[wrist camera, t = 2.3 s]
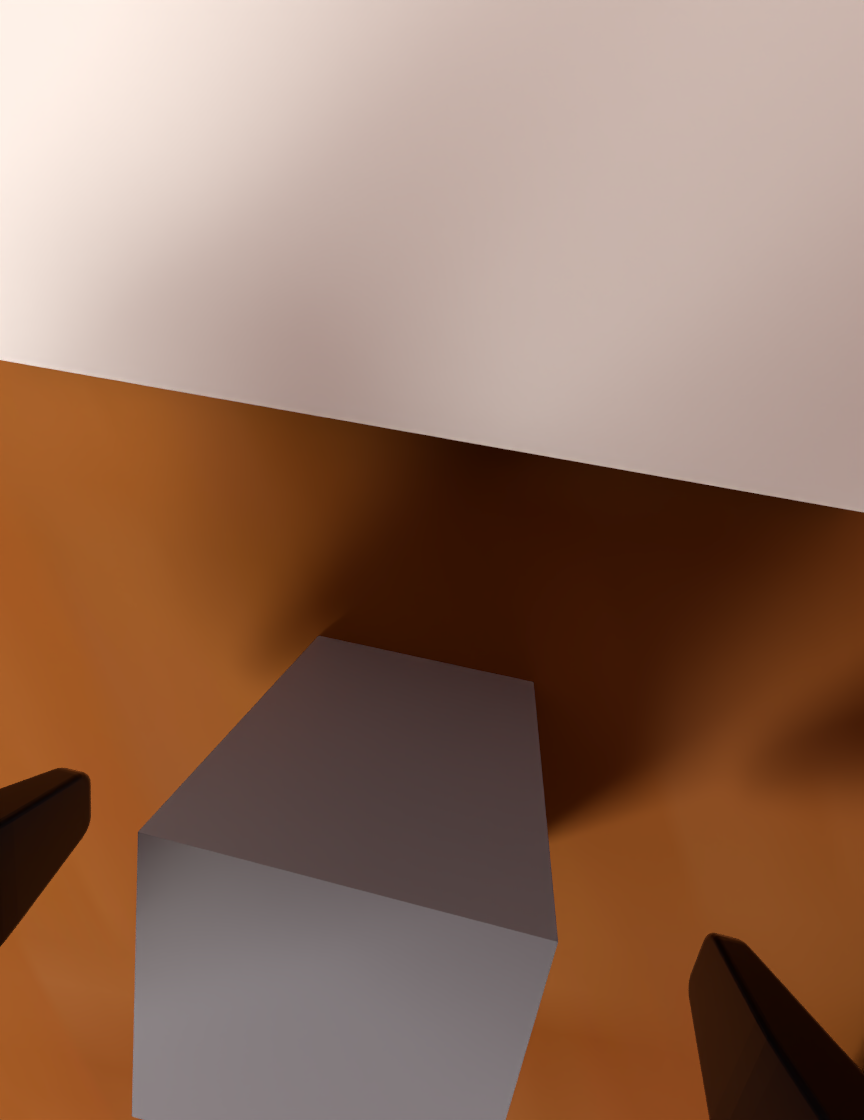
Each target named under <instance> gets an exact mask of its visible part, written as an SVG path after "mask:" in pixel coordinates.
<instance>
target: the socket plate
mask: <svg viewBox="0 0 864 1120" xmlns="http://www.w3.org/2000/svg"><path fill="white" fill-rule="evenodd" d="M0 360H4V361H9V362H15V363H21V364H26V365H32V366H38V367H43V368H49V369H55V370H60V371H66V372H72V373H77V374H83V375H89V376H94V377H100V378H106V379H111V380H117V381H123V382H128V383H134V384H140V385H145V386H151V387H157V388H162V389H168V390H174V391H179V392H185V393H191V394H196V395H202V396H208V397H213V398H219V399H225V400H230V401H236V402H241V403H247V404H253V405H258V406H264V407H270V408H275V409H281V410H287V411H292V412H298V413H304V414H309V415H315V416H321V417H326V418H332V419H338V420H343V421H349V422H355V423H360V424H366V425H372V426H377V427H383V428H389V429H394V430H400V431H406V432H411V433H417V434H423V435H428V436H434V437H440V438H445V439H451V440H457V441H462V442H468V443H473V444H479V445H485V446H490V447H496V448H502V449H507V450H513V451H519V452H524V453H530V454H536V455H541V456H547V457H553V458H558V459H564V460H570V461H575V462H581V463H587V464H592V465H598V466H604V467H609V468H615V469H621V470H626V471H632V472H638V473H643V474H649V475H655V476H660V477H666V478H672V479H677V480H683V481H689V482H694V483H700V484H705V485H711V486H717V487H722V488H728V489H734V490H739V491H745V492H751V493H756V494H762V495H768V496H773V497H779V498H785V499H790V500H796V501H802V502H807V503H813V504H819V505H824V506H830V507H836V508H841V509H847V510H853V511H858V512H864V0H0Z"/></svg>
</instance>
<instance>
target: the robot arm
mask: <svg viewBox="0 0 864 1120" xmlns="http://www.w3.org/2000/svg"><path fill="white" fill-rule="evenodd" d="M90 818H91V785H90V778H89V776H88V775H87V774H86V773H84V772H80V771H76V770H72V769H68V768H57V769H54V770H51V771H48V772H46V773H43V774H40V775H37V776H34V777H32V778H29V779H26V780H23V781H20V782H18V783H15V784H12V785H9V786H7V787H4V788H1V789H0V946H1V945H2V944H3V943H4V942H5V940H6V939H7V938H8V936H9V935H10V934H11V933H12V931H13V930H14V929H15V928H16V926H17V925H18V924H19V922H20V921H21V920H22V918H23V917H24V916H25V914H26V913H27V912H28V910H29V909H30V908H31V906H32V905H33V904H34V902H35V901H36V899H37V898H38V897H39V895H40V894H41V893H42V891H43V890H44V889H45V887H46V886H47V885H48V883H49V882H50V881H51V879H52V878H53V877H54V875H55V874H56V873H57V871H58V870H59V869H60V867H61V866H62V864H63V863H64V862H65V860H66V859H67V858H68V856H69V855H70V854H71V852H72V851H73V850H74V848H75V847H76V846H77V844H78V843H79V842H80V840H81V839H82V837H83V836H84V834H85V833H86V831H87V829H88V826H89V823H90ZM689 1000H690V1006H691V1012H692V1018H693V1024H694V1030H695V1036H696V1042H697V1047H698V1053H699V1059H700V1065H701V1071H702V1077H703V1083H704V1089H705V1095H706V1101H707V1107H708V1113H709V1119H710V1120H864V1073H863V1072H862V1071H861V1070H860V1069H859V1067H858V1066H857V1065H856V1064H855V1063H854V1062H853V1061H852V1060H851V1059H850V1058H849V1056H848V1055H847V1054H846V1053H845V1052H844V1051H843V1050H842V1049H841V1048H840V1047H839V1045H838V1044H837V1043H836V1042H835V1041H834V1040H833V1039H832V1038H831V1037H830V1036H829V1034H828V1033H827V1032H826V1031H825V1030H824V1029H823V1028H822V1027H821V1026H820V1025H819V1023H818V1022H817V1021H816V1020H815V1019H814V1018H813V1017H812V1016H811V1015H810V1013H809V1012H808V1011H807V1010H806V1009H805V1008H804V1007H803V1006H802V1005H801V1004H800V1002H799V1001H798V1000H797V999H796V998H795V997H794V996H793V995H792V994H791V993H790V991H789V990H788V989H787V988H786V987H785V986H784V985H783V984H782V983H781V982H780V980H779V979H778V978H777V977H776V976H775V975H774V974H773V973H772V972H771V971H770V969H769V968H768V967H767V966H766V965H765V964H764V963H763V962H762V961H761V959H760V958H759V957H758V956H757V955H756V954H755V953H754V952H753V951H752V950H751V948H750V947H749V946H748V945H747V944H745V943H744V942H743V941H741V940H739V939H736V938H732V937H729V936H725V935H721V934H717V933H710V934H708V935H707V936H706V938H705V940H704V942H703V944H702V947H701V949H700V952H699V955H698V957H697V960H696V962H695V965H694V967H693V970H692V972H691V975H690V980H689Z"/></svg>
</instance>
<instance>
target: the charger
mask: <svg viewBox="0 0 864 1120" xmlns="http://www.w3.org/2000/svg"><path fill="white" fill-rule="evenodd" d="M557 943H558V937H557V927H556V916H555V905H554V894H553V884H552V873H551V862H550V852H549V841H548V830H547V819H546V809H545V798H544V787H543V777H542V766H541V755H540V744H539V734H538V723H537V712H536V702H535V691H534V682H531V681H527V680H522V679H518V678H513V677H508V676H504V675H499V674H494V673H490V672H485V671H481V670H476V669H471V668H467V667H462V666H457V665H453V664H448V663H443V662H439V661H434V660H430V659H425V658H420V657H416V656H411V655H406V654H402V653H397V652H393V651H388V650H383V649H379V648H374V647H369V646H365V645H360V644H355V643H351V642H346V641H342V640H337V639H332V638H328V637H323V636H318V637H317V638H316V639H315V640H314V641H313V642H312V643H311V644H310V645H309V646H308V648H307V649H306V650H305V651H304V652H303V653H302V654H301V655H300V656H299V657H298V658H297V660H296V661H295V662H294V663H293V664H292V665H291V666H290V667H289V668H288V669H287V670H286V672H285V673H284V674H283V675H282V676H281V677H280V678H279V679H278V680H277V681H276V682H275V683H274V685H273V686H272V687H271V688H270V689H269V690H268V691H267V692H266V693H265V694H264V695H263V697H262V698H261V699H260V700H259V701H258V702H257V703H256V704H255V705H254V706H253V707H252V709H251V710H250V711H249V712H248V713H247V714H246V715H245V716H244V717H243V718H242V719H241V721H240V722H239V723H238V724H237V725H236V726H235V727H234V728H233V729H232V730H231V731H230V732H229V734H228V735H227V736H226V737H225V738H224V739H223V740H222V741H221V742H220V743H219V744H218V746H217V747H216V748H215V749H214V750H213V751H212V752H211V753H210V754H209V755H208V756H207V758H206V759H205V760H204V761H203V762H202V763H201V764H200V765H199V766H198V767H197V768H196V769H195V771H194V772H193V773H192V774H191V775H190V776H189V777H188V778H187V779H186V780H185V781H184V783H183V784H182V785H181V786H180V787H179V788H178V789H177V790H176V791H175V792H174V793H173V795H172V796H171V797H170V798H169V799H168V800H167V801H166V802H165V803H164V804H163V805H162V806H161V808H160V809H159V810H158V811H157V812H156V813H155V814H154V815H153V816H152V817H151V818H150V820H149V821H148V822H147V823H146V824H145V825H144V826H143V827H142V828H141V829H140V830H139V832H138V860H137V907H136V954H135V1000H134V1047H133V1094H132V1116H133V1117H136V1118H139V1119H143V1120H506V1116H507V1113H508V1109H509V1106H510V1103H511V1099H512V1096H513V1093H514V1089H515V1086H516V1082H517V1079H518V1076H519V1072H520V1069H521V1065H522V1062H523V1059H524V1055H525V1052H526V1048H527V1045H528V1042H529V1038H530V1035H531V1032H532V1028H533V1025H534V1021H535V1018H536V1015H537V1011H538V1008H539V1004H540V1001H541V998H542V994H543V991H544V987H545V984H546V981H547V977H548V974H549V971H550V967H551V964H552V960H553V957H554V954H555V950H556V947H557Z"/></svg>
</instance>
